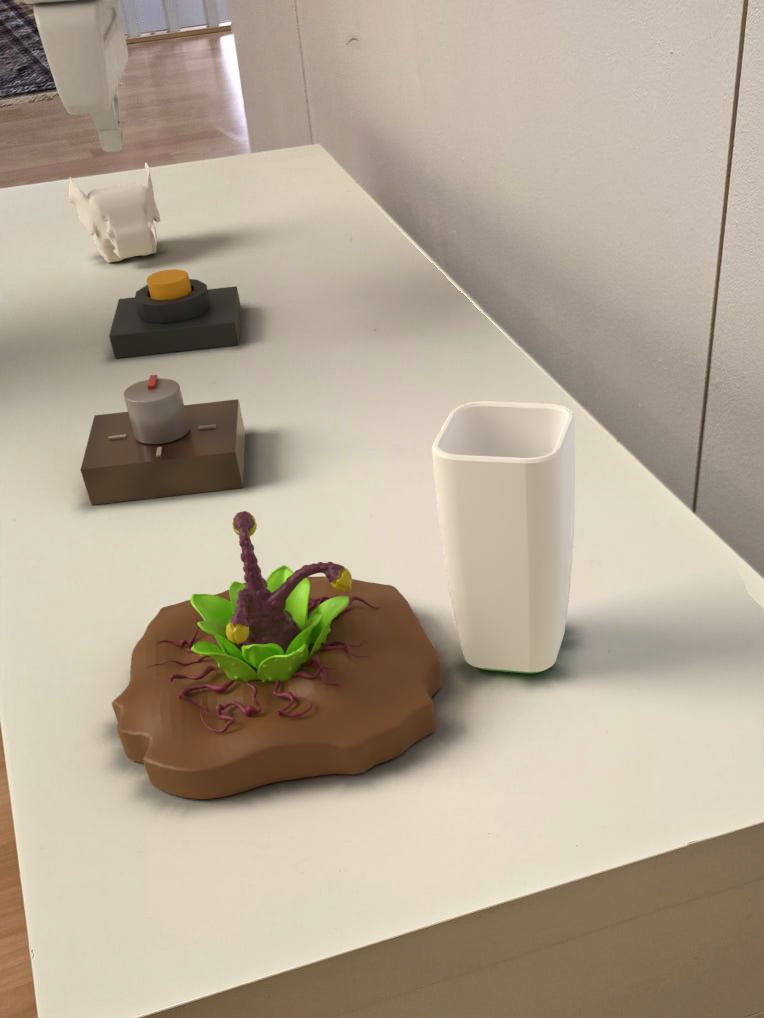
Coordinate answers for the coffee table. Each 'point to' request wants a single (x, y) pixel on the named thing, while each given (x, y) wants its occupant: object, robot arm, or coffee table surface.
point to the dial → (156, 410)
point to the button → (169, 284)
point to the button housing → (176, 321)
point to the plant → (277, 681)
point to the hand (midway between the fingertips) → (114, 147)
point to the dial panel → (165, 456)
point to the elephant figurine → (119, 218)
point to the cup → (507, 529)
